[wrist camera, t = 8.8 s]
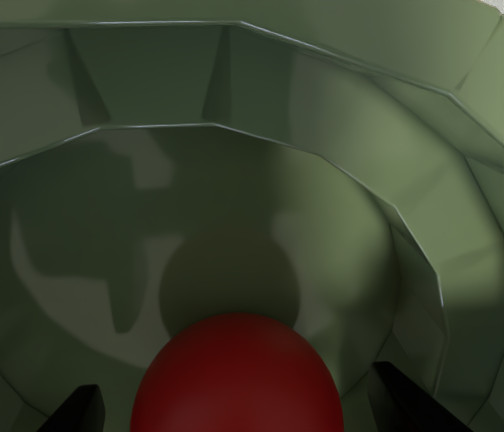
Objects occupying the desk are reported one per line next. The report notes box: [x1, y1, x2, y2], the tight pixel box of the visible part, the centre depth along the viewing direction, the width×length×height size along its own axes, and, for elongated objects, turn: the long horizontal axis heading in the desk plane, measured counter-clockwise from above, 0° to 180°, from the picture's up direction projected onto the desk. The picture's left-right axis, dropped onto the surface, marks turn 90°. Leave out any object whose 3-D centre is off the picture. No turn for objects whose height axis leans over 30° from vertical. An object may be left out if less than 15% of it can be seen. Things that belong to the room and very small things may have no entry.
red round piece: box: [130, 312, 344, 432], centre depth 8 cm, size 4×4×5 cm
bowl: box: [0, 0, 504, 432], centre depth 8 cm, size 15×15×5 cm
